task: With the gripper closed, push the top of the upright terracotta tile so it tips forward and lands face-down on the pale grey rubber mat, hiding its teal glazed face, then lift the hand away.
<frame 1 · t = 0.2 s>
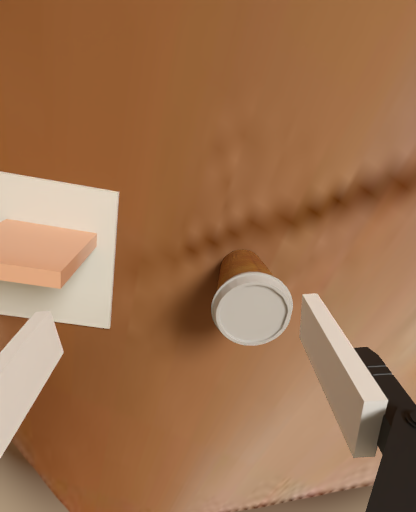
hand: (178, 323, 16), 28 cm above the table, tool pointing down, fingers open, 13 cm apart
disposable coffee cup: (241, 268, 46), on the table
mat: (51, 256, 44), on the table
tile: (52, 226, 42), point 1 cm above the table, touching mat
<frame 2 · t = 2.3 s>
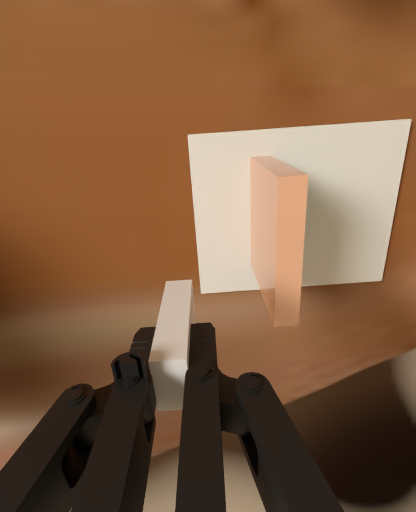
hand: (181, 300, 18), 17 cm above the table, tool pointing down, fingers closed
mat: (293, 214, 34), on the table
tile: (250, 214, 34), point 1 cm above the table, touching mat
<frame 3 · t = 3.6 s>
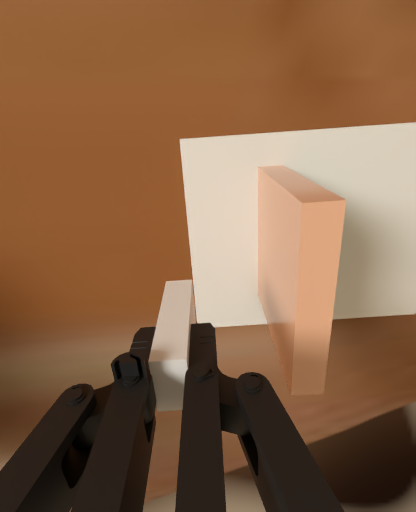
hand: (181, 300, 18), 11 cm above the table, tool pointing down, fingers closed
mat: (310, 235, 28), on the table
tile: (257, 236, 27), point 1 cm above the table, touching mat
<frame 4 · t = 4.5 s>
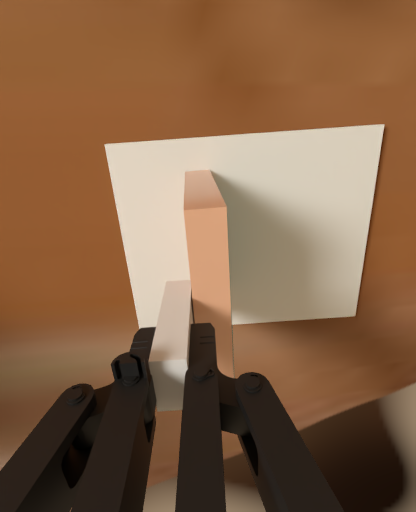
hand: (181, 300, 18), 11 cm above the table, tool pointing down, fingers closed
mat: (245, 239, 28), on the table
tile: (191, 240, 28), point 1 cm above the table, touching gripper, mat
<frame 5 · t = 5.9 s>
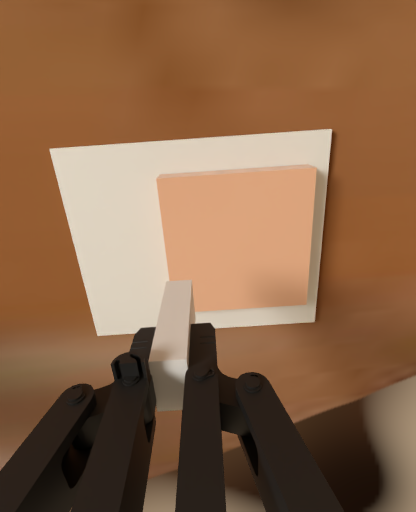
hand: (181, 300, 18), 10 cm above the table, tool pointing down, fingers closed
mat: (199, 244, 28), on the table
tile: (165, 252, 25), point 3 cm above the table, tilted 90°, touching mat
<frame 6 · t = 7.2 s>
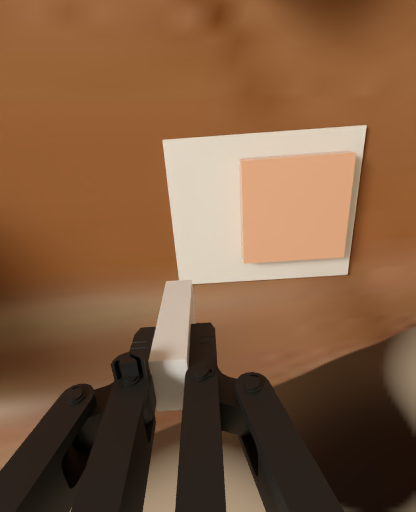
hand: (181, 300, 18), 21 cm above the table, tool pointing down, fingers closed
mat: (262, 212, 37), on the table
tile: (242, 215, 35), point 3 cm above the table, tilted 90°, touching mat
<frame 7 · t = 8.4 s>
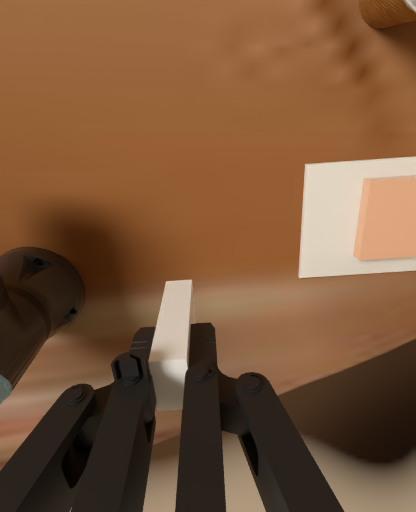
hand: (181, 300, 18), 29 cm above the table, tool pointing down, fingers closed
mat: (373, 219, 47), on the table
tile: (364, 222, 45), point 3 cm above the table, tilted 90°, touching mat
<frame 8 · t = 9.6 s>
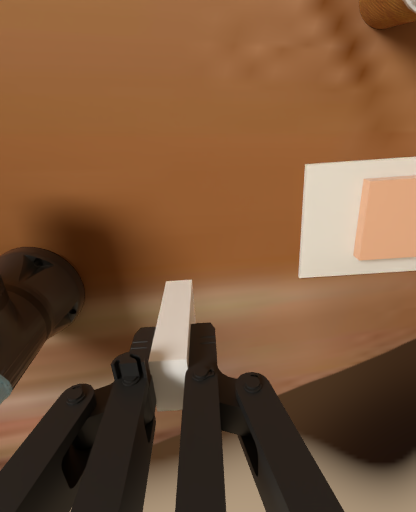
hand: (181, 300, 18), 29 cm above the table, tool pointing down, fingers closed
mat: (373, 219, 47), on the table
tile: (364, 223, 45), point 3 cm above the table, tilted 90°, touching mat
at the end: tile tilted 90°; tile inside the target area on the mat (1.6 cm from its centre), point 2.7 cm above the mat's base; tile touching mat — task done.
